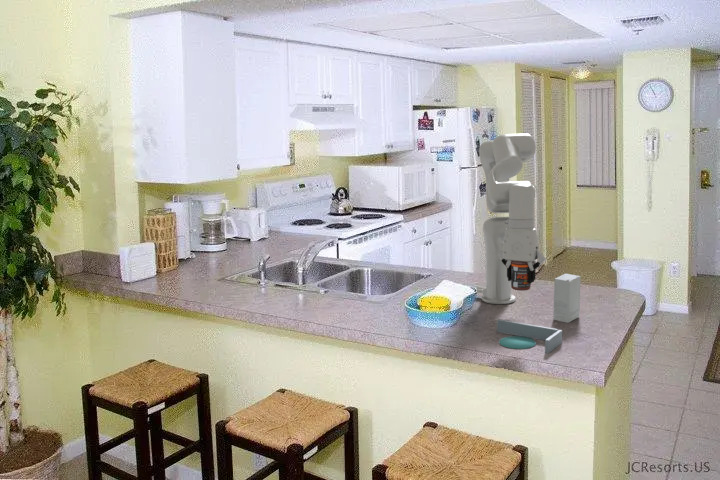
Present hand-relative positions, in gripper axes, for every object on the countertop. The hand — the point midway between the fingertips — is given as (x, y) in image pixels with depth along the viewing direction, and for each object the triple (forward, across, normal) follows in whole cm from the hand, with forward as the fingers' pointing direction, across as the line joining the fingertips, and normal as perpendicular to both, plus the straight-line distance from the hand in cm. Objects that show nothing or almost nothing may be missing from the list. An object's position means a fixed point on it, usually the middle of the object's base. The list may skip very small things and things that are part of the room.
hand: (521, 280), depth 214 cm
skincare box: (+18, +6, +25) cm, 32 cm away
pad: (+18, +1, -6) cm, 19 cm away
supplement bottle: (+3, 0, 0) cm, 3 cm away
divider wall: (+18, +2, -4) cm, 19 cm away
